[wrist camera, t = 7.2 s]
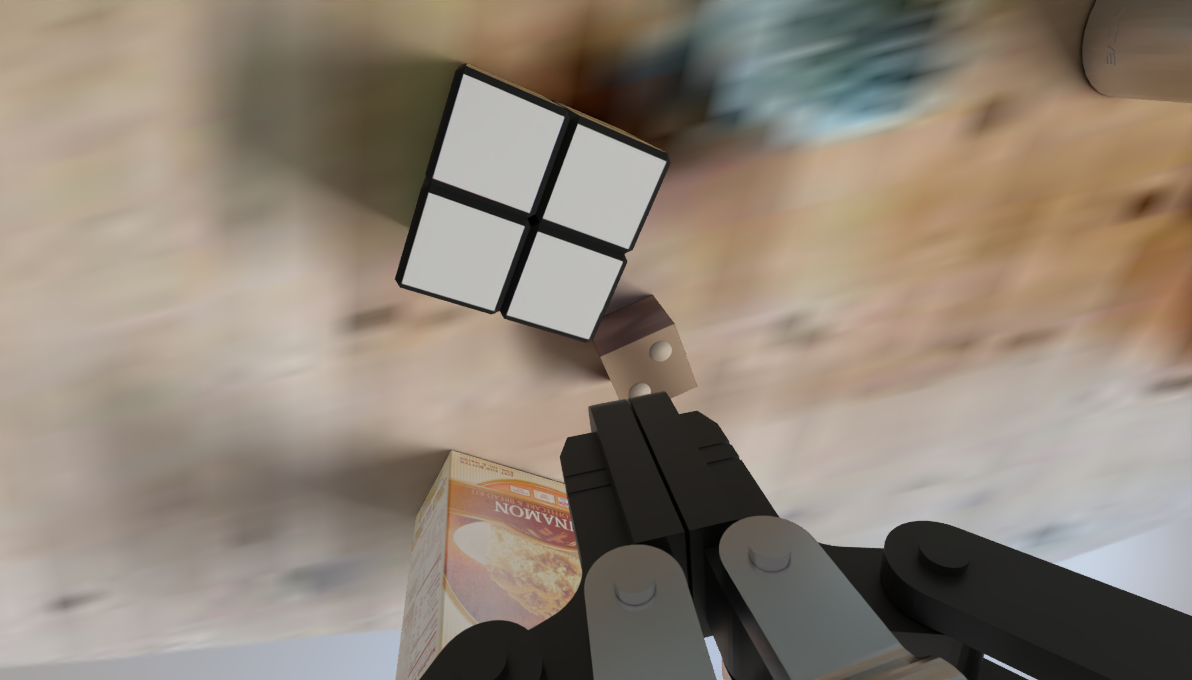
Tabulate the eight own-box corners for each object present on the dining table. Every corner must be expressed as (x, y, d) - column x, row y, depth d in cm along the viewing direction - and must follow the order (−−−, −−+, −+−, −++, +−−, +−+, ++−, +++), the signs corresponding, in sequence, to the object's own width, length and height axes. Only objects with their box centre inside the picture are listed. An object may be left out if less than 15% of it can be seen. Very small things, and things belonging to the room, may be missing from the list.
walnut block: (652, 294, 40) (674, 323, 36) (673, 352, 42) (697, 386, 38) (585, 323, 40) (600, 357, 36) (611, 380, 42) (627, 418, 38)
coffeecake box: (624, 499, 48) (711, 751, 30) (583, 561, 50) (643, 829, 32) (450, 444, 42) (435, 713, 25) (413, 517, 44) (375, 811, 27)
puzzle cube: (564, 280, 38) (592, 347, 30) (411, 230, 35) (391, 288, 26) (624, 130, 35) (676, 156, 26) (461, 60, 32) (457, 61, 23)
